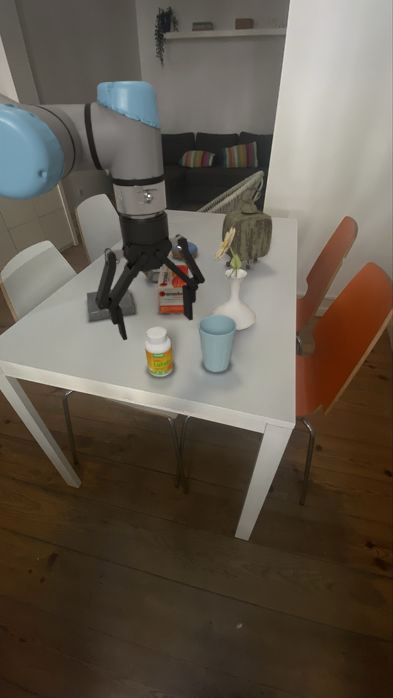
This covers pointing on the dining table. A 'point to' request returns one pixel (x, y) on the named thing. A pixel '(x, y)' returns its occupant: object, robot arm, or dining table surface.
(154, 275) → the pocket watch
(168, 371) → the supplement bottle
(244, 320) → the flower in vase
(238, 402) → the dining table surface
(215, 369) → the cup
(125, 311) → the bottle stand
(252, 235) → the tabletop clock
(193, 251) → the doughnut
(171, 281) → the medicine box
